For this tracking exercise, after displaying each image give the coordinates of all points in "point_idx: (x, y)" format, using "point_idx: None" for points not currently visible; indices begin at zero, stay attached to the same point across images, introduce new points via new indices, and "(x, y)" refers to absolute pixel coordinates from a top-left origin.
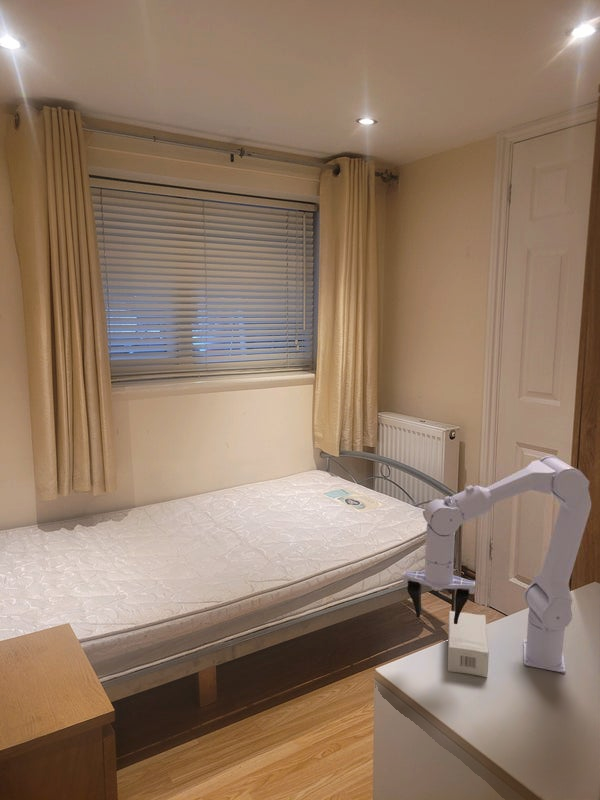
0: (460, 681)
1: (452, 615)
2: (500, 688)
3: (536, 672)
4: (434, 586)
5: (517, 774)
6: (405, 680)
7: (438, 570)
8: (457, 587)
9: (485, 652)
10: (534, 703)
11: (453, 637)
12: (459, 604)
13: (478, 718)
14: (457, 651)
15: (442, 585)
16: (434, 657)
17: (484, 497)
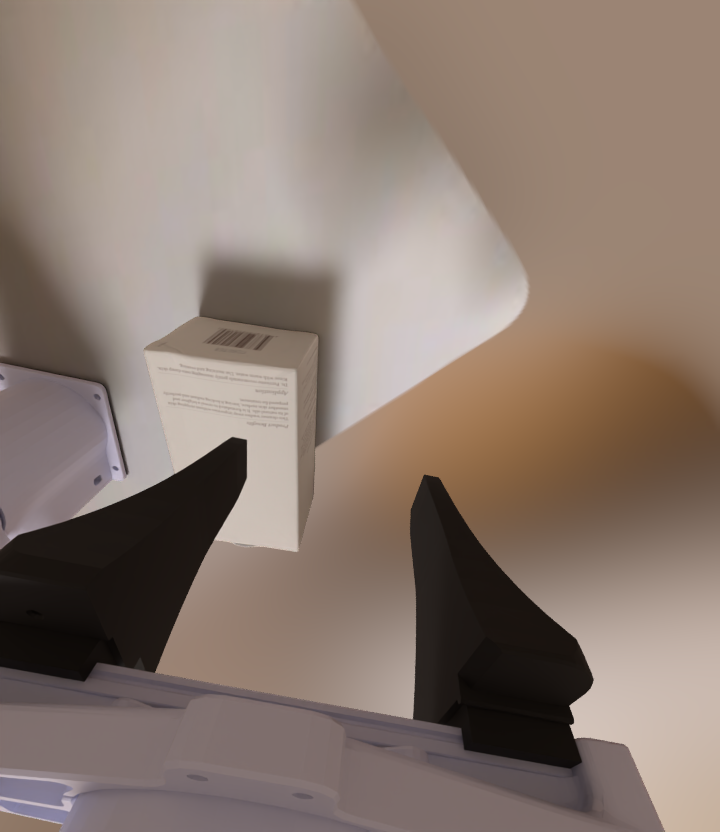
0: (279, 286)
1: (288, 533)
2: (151, 266)
3: (69, 359)
4: (286, 788)
5: None
6: (471, 264)
7: None
8: (3, 720)
9: (155, 350)
10: (33, 196)
11: (281, 427)
12: (123, 519)
13: (202, 43)
14: (267, 358)
15: (162, 785)
16: (357, 396)
17: None
